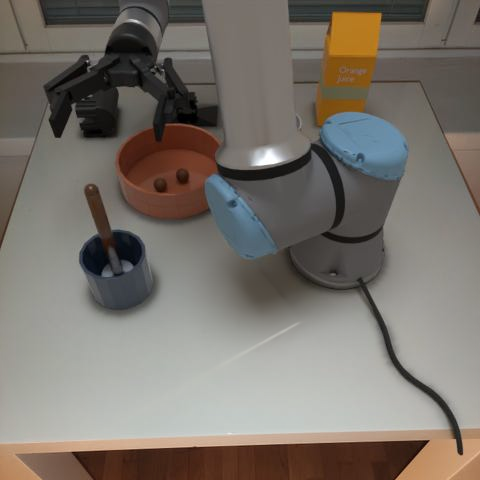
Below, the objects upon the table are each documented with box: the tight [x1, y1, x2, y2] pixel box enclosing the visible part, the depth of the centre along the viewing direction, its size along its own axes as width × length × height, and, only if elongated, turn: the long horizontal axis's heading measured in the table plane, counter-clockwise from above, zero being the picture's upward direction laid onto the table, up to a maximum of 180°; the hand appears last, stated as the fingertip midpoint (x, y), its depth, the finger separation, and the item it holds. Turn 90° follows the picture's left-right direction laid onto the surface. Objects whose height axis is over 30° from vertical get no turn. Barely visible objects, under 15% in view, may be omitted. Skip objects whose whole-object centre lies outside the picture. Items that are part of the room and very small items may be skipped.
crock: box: [78, 228, 154, 311], centre depth 71 cm, size 9×9×8 cm
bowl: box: [114, 124, 222, 220], centre depth 85 cm, size 19×19×6 cm
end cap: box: [74, 78, 120, 138], centre depth 95 cm, size 10×7×7 cm
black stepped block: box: [166, 91, 219, 128], centre depth 97 cm, size 12×7×5 cm, turn 90°
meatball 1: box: [154, 178, 167, 192], centre depth 85 cm, size 2×2×2 cm
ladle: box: [83, 183, 134, 277], centre depth 66 cm, size 5×5×20 cm
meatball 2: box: [176, 168, 189, 182], centre depth 86 cm, size 2×2×2 cm
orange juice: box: [314, 11, 383, 127], centre depth 91 cm, size 8×9×20 cm
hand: (105, 131), depth 62 cm, fingers open, 13 cm apart
